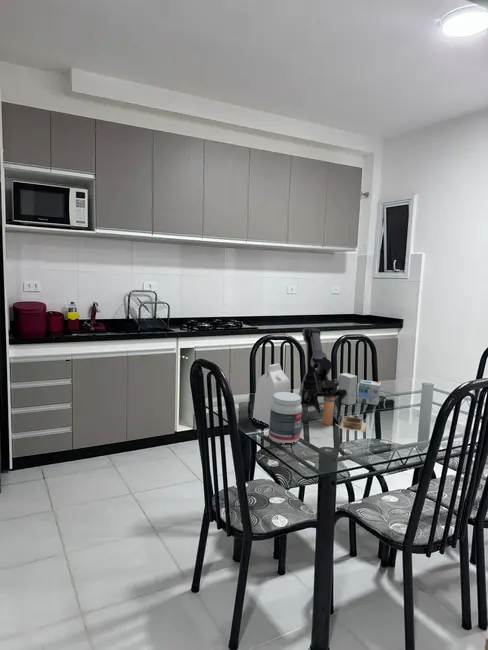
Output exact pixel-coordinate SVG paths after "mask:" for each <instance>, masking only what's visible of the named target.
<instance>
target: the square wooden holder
mask: <svg viewBox="0 0 488 650" xmlns="http://www.w3.org/2000/svg"><path fill="white" fill-rule="evenodd" d="M338 427H339V429H342V430H349V431H355V432H361V433H366V427H367V423H366V422H363V418H360V417H354V416H348V415H345V418H344V419H340V424H339V426H338Z"/></svg>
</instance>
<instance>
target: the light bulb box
mask: <svg viewBox="0 0 488 650" xmlns="http://www.w3.org/2000/svg"><path fill="white" fill-rule="evenodd" d="M381 385H382V383H381V382H379V381H378V382H377V381H373V380H365V379H360V381H359V384H358V391H357V397H356V403H362V404H367V405H373V406H378V405H379V402H380V394H381V387H382V386H381Z"/></svg>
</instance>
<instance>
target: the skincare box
mask: <svg viewBox="0 0 488 650" xmlns="http://www.w3.org/2000/svg"><path fill="white" fill-rule="evenodd" d="M337 379H338V381H339V386H337V389H345V390H346V391H347V395H346V396H345V398H344V399H342V401H341V404H345V405H348V406H350V405H356V403H357V386H358V385H357V384H358V376H357V375H355V374H351V373H348V372H343V373H338V378H337Z"/></svg>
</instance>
